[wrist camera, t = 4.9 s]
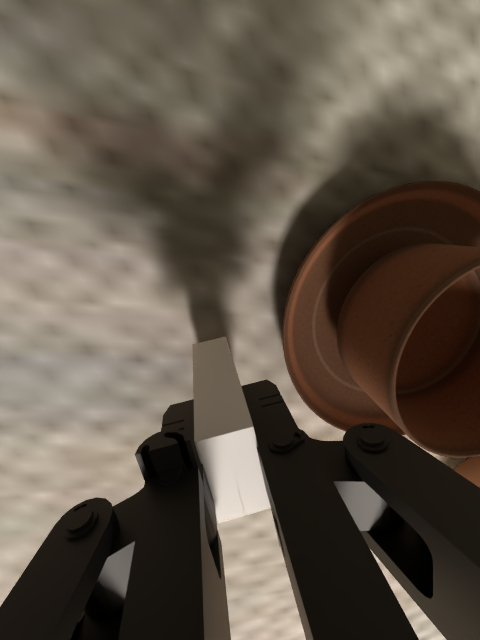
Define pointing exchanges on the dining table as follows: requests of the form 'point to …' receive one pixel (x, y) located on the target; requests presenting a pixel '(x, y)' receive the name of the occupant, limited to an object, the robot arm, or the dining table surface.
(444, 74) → the dining table surface
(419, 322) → the cup and saucer
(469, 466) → the peach rounded capsule
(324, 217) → the dining table surface
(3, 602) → the robot arm
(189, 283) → the dining table surface
